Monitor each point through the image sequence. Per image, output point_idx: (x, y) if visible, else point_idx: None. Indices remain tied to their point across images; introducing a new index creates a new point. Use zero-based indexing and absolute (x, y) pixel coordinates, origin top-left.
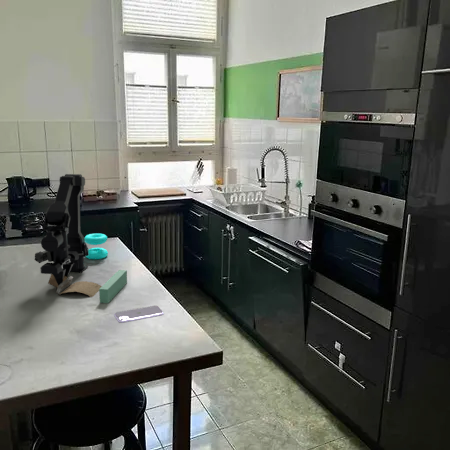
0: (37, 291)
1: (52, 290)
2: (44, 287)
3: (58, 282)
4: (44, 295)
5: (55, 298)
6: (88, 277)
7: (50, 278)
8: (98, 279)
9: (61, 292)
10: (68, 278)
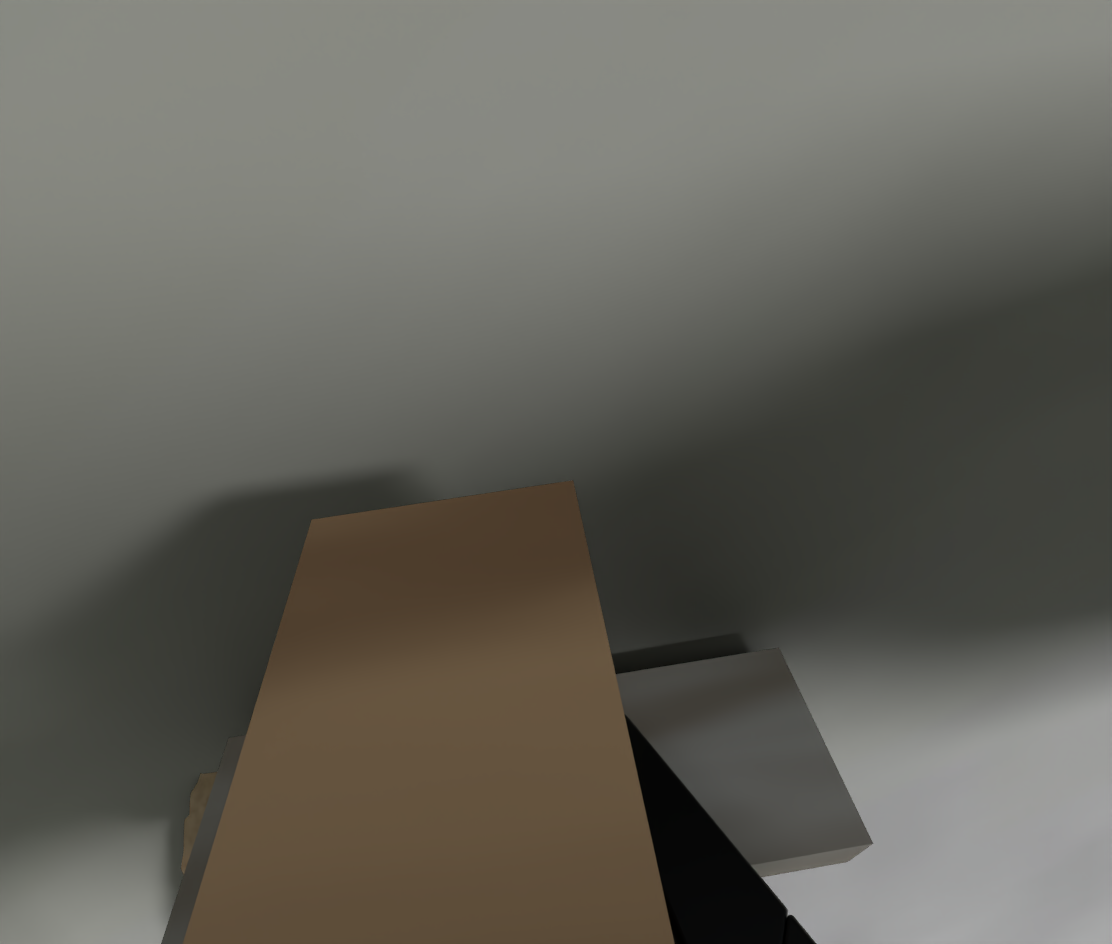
0: (134, 277)
1: None
2: (438, 280)
3: None
4: (46, 581)
5: (64, 819)
6: (1096, 746)
7: (267, 726)
8: (999, 891)
9: None
10: None
